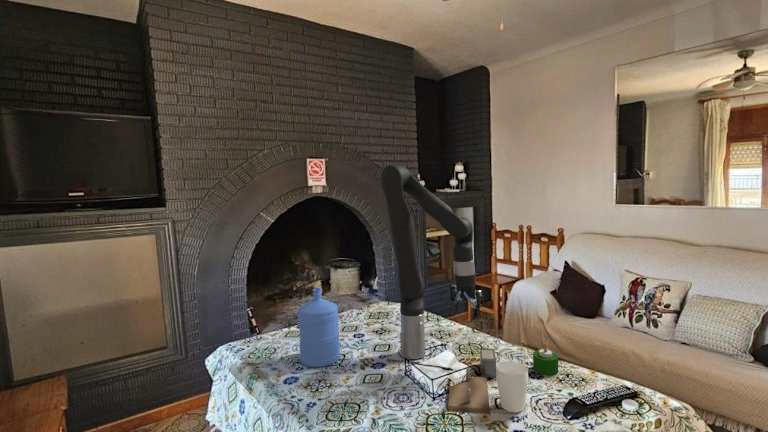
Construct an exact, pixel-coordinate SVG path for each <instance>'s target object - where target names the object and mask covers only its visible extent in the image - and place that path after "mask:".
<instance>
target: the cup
mask: <svg viewBox="0 0 768 432" xmlns="http://www.w3.org/2000/svg"><path fill="white" fill-rule="evenodd" d="M528 370H529V369H528V367H527V366H526V365H525V364H523V363H520V362H518V361H517V362H516V361H511V360H510V361H509V360H505V361H500V362H499V363H498V364H496V382H497V388H498V394H499V400H500V406H501V408H502V409H503V410H504V411H507V412H510V413H516V414H517V413H520V412H523V411H524V410H525V404H526V399H527V393H528V392H527V391H528V385H529V372H528Z"/></svg>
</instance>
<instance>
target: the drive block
mask: <svg viewBox="0 0 768 432" xmlns="http://www.w3.org/2000/svg"><path fill="white" fill-rule="evenodd" d="M479 357H480V359H479V365H480V377H486V378H493V379H497V376H496V375H497V357H496V353H495V349H494V348H481V347H480V348H479Z"/></svg>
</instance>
